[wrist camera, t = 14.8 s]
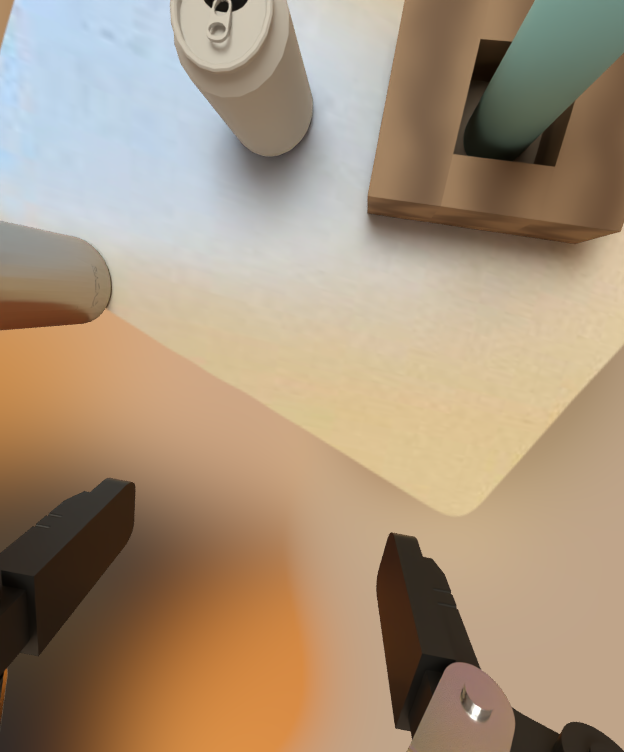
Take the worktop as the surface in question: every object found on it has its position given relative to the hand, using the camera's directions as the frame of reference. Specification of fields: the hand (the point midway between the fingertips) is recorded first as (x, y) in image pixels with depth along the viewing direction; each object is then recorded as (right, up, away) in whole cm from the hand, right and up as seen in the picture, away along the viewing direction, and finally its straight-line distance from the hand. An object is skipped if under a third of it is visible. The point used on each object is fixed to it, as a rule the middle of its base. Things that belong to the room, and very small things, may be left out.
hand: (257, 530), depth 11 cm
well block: (+17, +25, +18) cm, 35 cm away
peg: (+17, +24, +17) cm, 34 cm away
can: (-2, +28, +21) cm, 35 cm away
